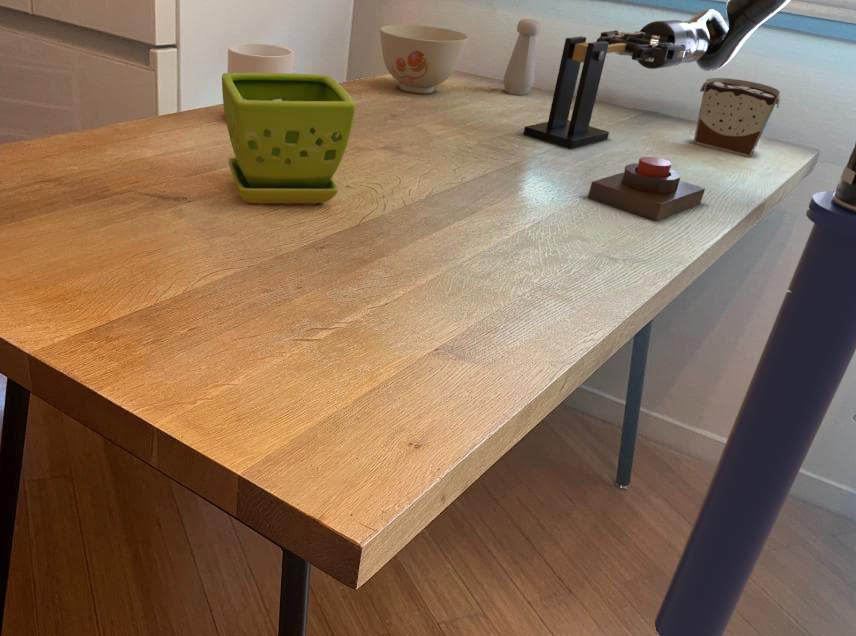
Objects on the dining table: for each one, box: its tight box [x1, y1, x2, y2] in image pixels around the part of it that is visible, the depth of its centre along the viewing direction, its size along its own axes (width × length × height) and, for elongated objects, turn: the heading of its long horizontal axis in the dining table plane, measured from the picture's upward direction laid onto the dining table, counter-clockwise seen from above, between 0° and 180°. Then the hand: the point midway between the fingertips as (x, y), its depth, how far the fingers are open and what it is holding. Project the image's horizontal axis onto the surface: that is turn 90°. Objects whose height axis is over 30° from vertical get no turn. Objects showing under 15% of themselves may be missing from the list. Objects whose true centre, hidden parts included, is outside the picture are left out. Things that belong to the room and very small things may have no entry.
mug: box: [227, 43, 297, 101], centre depth 134 cm, size 13×10×10 cm
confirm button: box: [637, 156, 673, 177], centre depth 113 cm, size 4×4×2 cm
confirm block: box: [587, 163, 706, 222], centre depth 114 cm, size 12×10×4 cm
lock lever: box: [572, 38, 640, 64], centre depth 137 cm, size 14×6×2 cm, turn 133°
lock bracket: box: [522, 35, 610, 150], centre depth 137 cm, size 11×9×15 cm
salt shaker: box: [503, 18, 542, 96], centre depth 163 cm, size 6×6×13 cm
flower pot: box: [221, 72, 356, 206], centre depth 104 cm, size 14×14×13 cm
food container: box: [693, 77, 782, 158], centre depth 140 cm, size 12×6×10 cm, turn 49°
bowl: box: [379, 24, 469, 94], centre depth 159 cm, size 16×16×10 cm
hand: (616, 48), depth 139 cm, fingers closed on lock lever, 6 cm apart
